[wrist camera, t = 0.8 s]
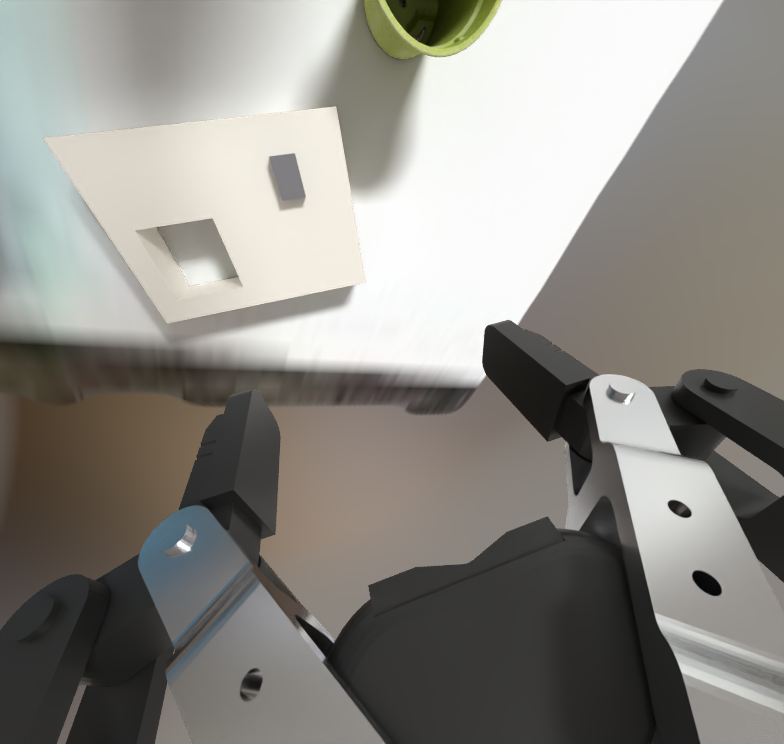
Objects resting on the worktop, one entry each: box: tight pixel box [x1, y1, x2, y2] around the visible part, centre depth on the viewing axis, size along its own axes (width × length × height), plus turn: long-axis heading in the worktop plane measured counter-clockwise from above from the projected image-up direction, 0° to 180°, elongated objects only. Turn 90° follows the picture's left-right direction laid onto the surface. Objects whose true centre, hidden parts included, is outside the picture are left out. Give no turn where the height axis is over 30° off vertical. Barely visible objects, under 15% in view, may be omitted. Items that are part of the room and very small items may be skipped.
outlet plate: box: [43, 106, 366, 324], centre depth 26 cm, size 14×20×5 cm
